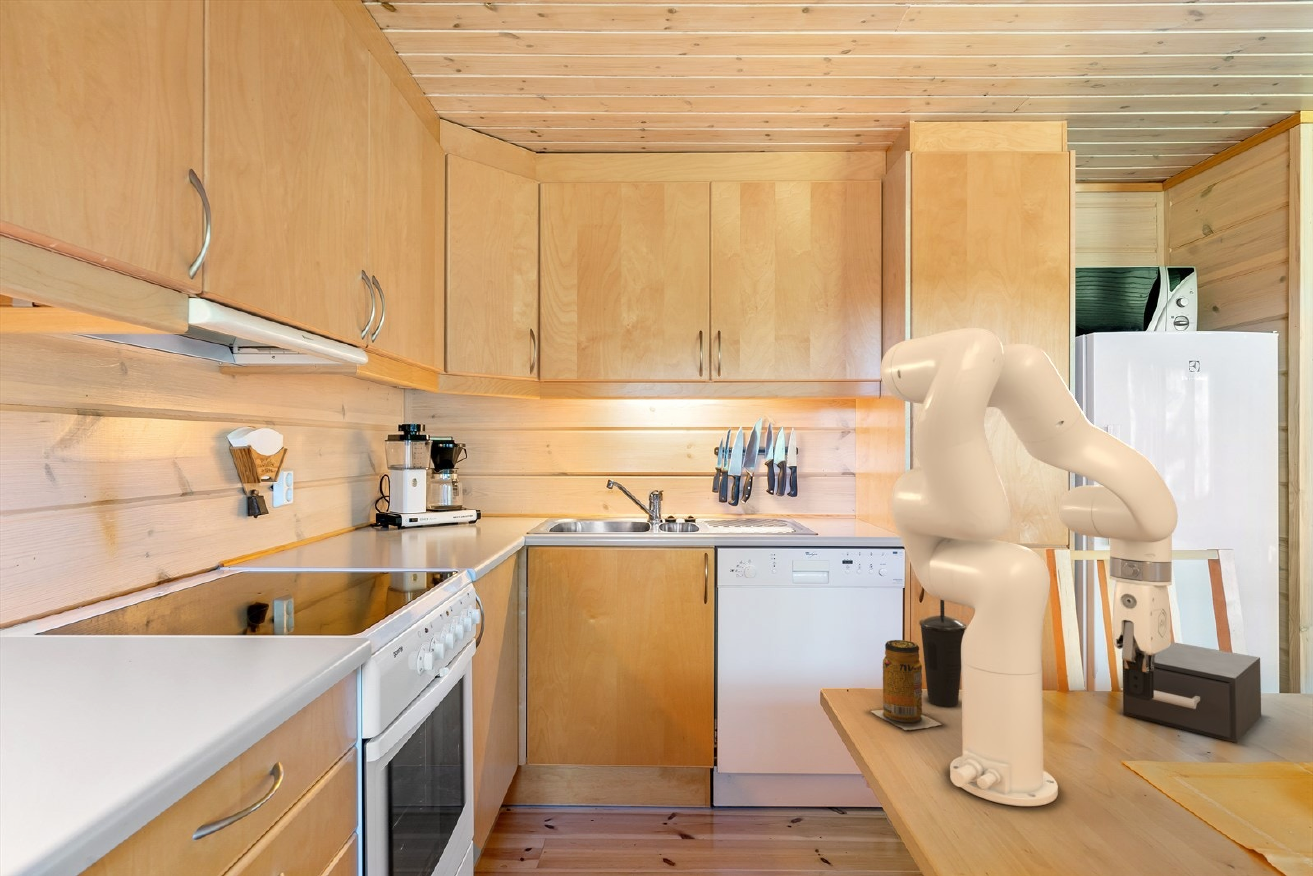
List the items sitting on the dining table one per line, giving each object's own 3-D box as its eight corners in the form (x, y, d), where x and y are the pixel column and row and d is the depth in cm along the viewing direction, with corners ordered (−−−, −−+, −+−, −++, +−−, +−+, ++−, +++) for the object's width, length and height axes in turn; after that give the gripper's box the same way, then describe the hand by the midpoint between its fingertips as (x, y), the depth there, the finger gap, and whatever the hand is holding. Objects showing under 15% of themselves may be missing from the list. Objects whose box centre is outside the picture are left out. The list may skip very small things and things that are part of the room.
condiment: (905, 707, 117) (905, 636, 117) (942, 725, 109) (941, 649, 109) (870, 712, 114) (869, 640, 115) (904, 732, 106) (904, 654, 107)
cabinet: (1236, 743, 102) (1235, 678, 102) (1123, 714, 114) (1122, 656, 114) (1261, 716, 113) (1260, 657, 113) (1155, 692, 124) (1154, 638, 124)
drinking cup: (972, 711, 115) (971, 591, 115) (923, 708, 116) (922, 590, 117) (961, 696, 122) (960, 583, 123) (916, 693, 124) (915, 581, 124)
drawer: (1222, 745, 99) (1221, 691, 99) (1115, 718, 110) (1114, 668, 110) (1253, 713, 112) (1252, 664, 112) (1155, 690, 122) (1154, 646, 122)
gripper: (1153, 579, 94) (1152, 715, 93) (1186, 571, 103) (1185, 695, 103) (1092, 571, 100) (1090, 699, 99) (1128, 564, 109) (1127, 681, 108)
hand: (1139, 696), depth 101 cm, fingers closed
